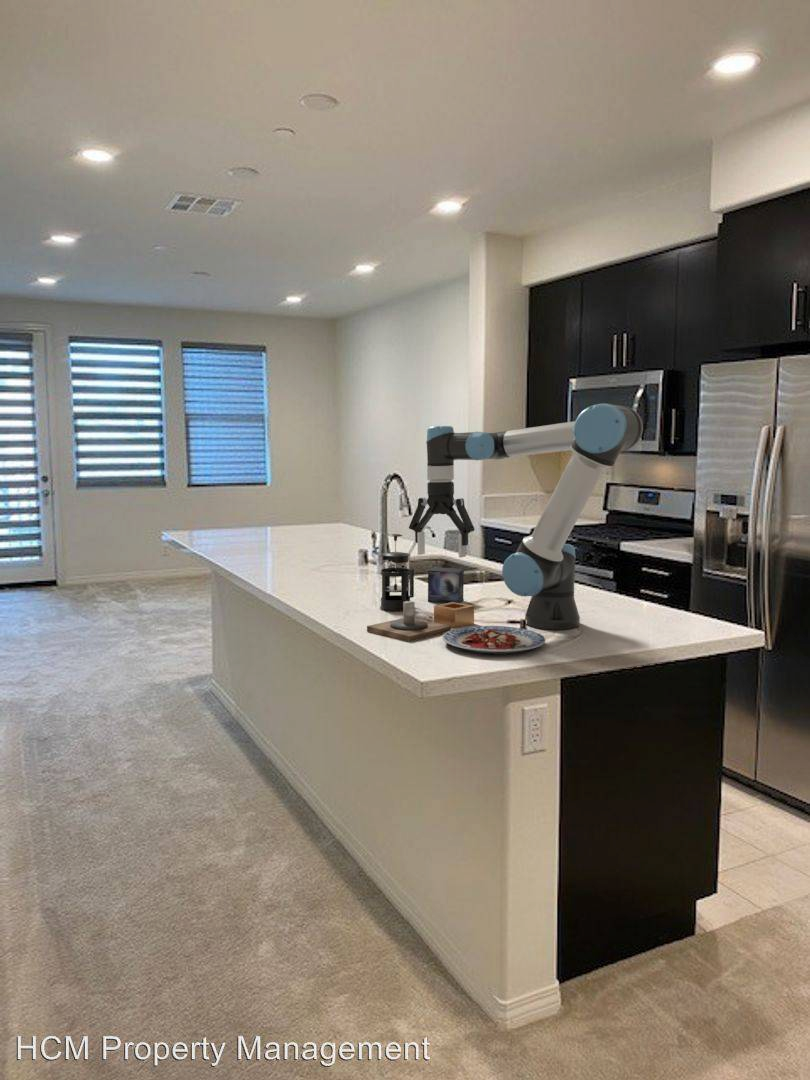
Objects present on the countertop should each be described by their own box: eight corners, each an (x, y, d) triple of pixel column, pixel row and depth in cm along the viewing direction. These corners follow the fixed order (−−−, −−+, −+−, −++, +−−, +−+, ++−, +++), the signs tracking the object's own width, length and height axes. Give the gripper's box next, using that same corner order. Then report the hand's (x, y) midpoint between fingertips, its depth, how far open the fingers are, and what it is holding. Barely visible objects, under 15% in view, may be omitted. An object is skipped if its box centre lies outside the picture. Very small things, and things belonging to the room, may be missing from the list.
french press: (389, 613, 240) (389, 536, 237) (372, 608, 247) (372, 533, 244) (421, 608, 247) (421, 534, 244) (403, 603, 254) (403, 531, 251)
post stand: (450, 631, 217) (451, 602, 216) (409, 641, 206) (409, 611, 205) (408, 622, 228) (408, 594, 227) (367, 631, 217) (366, 602, 216)
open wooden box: (473, 623, 227) (474, 605, 226) (455, 627, 221) (455, 610, 220) (452, 618, 232) (452, 601, 232) (433, 623, 227) (433, 605, 226)
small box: (426, 602, 257) (427, 569, 256) (432, 598, 263) (432, 566, 262) (458, 604, 253) (459, 571, 252) (464, 600, 260) (464, 568, 258)
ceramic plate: (421, 643, 205) (421, 631, 205) (495, 629, 221) (495, 618, 220) (491, 665, 185) (491, 652, 184) (566, 648, 200) (567, 636, 200)
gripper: (486, 480, 224) (486, 556, 226) (410, 480, 237) (411, 551, 240) (473, 482, 217) (473, 559, 220) (396, 481, 231) (397, 554, 233)
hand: (441, 555), depth 230 cm, fingers open, 13 cm apart
